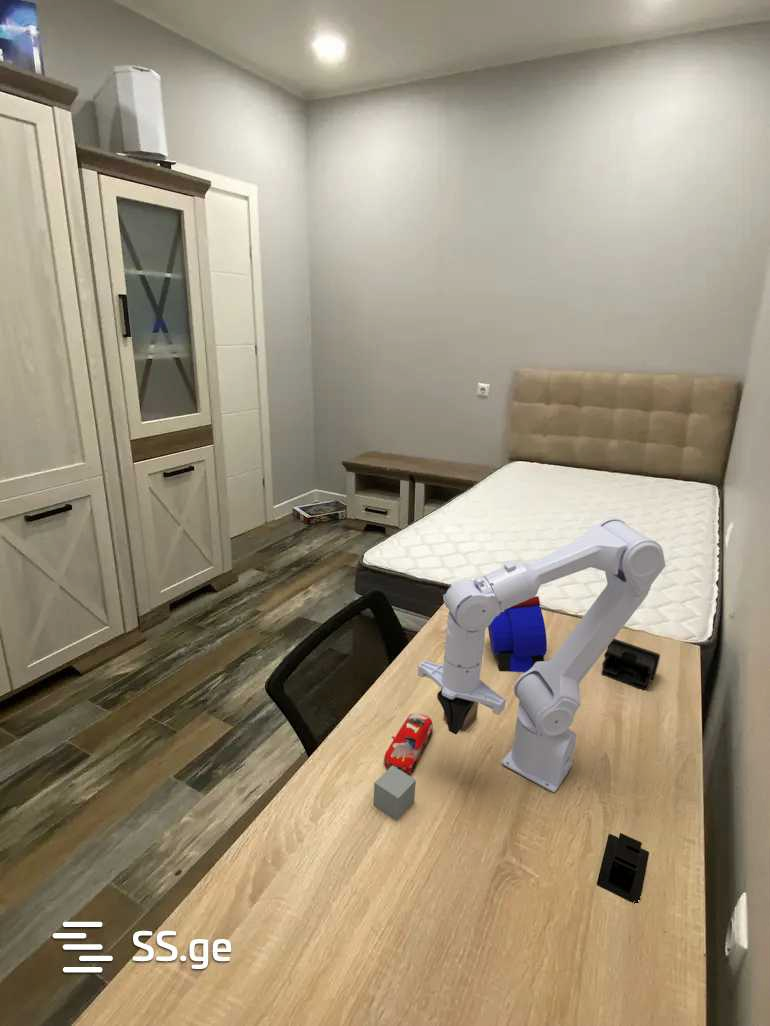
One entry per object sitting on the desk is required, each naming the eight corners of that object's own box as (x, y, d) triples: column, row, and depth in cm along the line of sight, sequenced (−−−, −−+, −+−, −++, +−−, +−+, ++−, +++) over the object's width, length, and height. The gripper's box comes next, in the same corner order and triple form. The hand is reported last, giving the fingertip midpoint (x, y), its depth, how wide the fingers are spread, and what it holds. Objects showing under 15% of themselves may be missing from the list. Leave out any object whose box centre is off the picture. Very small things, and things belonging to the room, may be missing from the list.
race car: (408, 782, 91) (410, 763, 90) (378, 770, 93) (379, 751, 92) (437, 731, 103) (438, 713, 101) (409, 721, 105) (411, 703, 103)
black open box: (643, 923, 72) (650, 898, 70) (584, 893, 75) (590, 869, 74) (655, 849, 82) (662, 826, 80) (603, 825, 85) (608, 803, 84)
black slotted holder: (655, 676, 121) (662, 649, 119) (648, 692, 115) (654, 664, 113) (607, 659, 126) (613, 632, 124) (598, 674, 121) (604, 647, 119)
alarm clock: (546, 673, 120) (557, 611, 115) (489, 671, 120) (496, 609, 115) (533, 641, 132) (542, 584, 127) (480, 639, 132) (487, 581, 126)
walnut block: (476, 719, 106) (478, 699, 104) (464, 732, 102) (466, 712, 101) (455, 709, 108) (457, 689, 107) (443, 721, 105) (445, 701, 103)
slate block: (414, 802, 87) (415, 779, 86) (396, 821, 84) (398, 798, 83) (391, 787, 90) (392, 765, 88) (373, 805, 87) (374, 782, 85)
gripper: (408, 649, 87) (403, 721, 91) (493, 689, 78) (483, 766, 83) (434, 631, 92) (428, 700, 97) (515, 667, 84) (505, 740, 88)
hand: (455, 729), depth 90 cm, fingers closed
